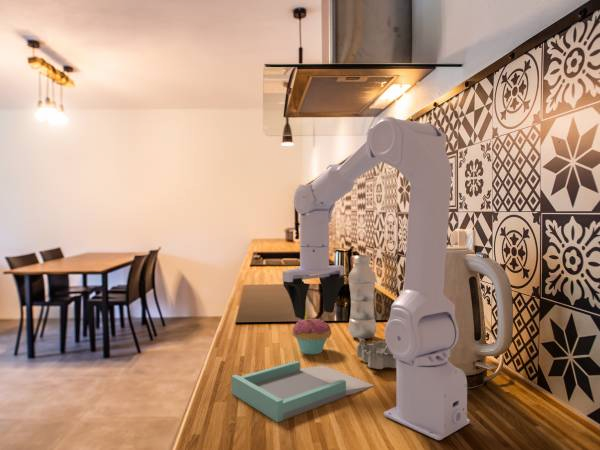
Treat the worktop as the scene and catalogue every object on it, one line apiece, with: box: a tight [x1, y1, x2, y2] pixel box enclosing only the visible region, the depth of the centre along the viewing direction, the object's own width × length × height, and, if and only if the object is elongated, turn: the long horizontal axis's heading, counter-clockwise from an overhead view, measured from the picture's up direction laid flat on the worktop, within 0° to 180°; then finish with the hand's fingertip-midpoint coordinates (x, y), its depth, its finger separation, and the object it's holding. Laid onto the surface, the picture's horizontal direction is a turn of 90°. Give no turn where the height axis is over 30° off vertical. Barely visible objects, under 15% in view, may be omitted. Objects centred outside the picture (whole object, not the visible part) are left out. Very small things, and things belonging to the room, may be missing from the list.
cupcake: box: [291, 309, 332, 355], centre depth 94 cm, size 9×8×12 cm
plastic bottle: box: [347, 254, 377, 340], centre depth 104 cm, size 6×7×20 cm
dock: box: [230, 360, 375, 423], centre depth 73 cm, size 13×21×4 cm, turn 129°
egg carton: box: [356, 335, 397, 370], centre depth 85 cm, size 11×8×4 cm
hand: (314, 314), depth 85 cm, fingers open, 7 cm apart
